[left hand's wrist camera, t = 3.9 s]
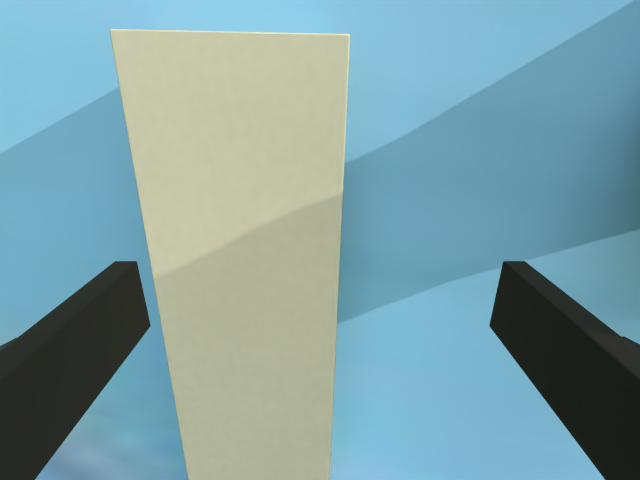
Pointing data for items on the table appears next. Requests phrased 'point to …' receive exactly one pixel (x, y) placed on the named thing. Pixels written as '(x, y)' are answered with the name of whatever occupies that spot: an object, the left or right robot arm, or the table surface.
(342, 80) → the thick block
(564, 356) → the left robot arm
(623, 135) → the table surface
